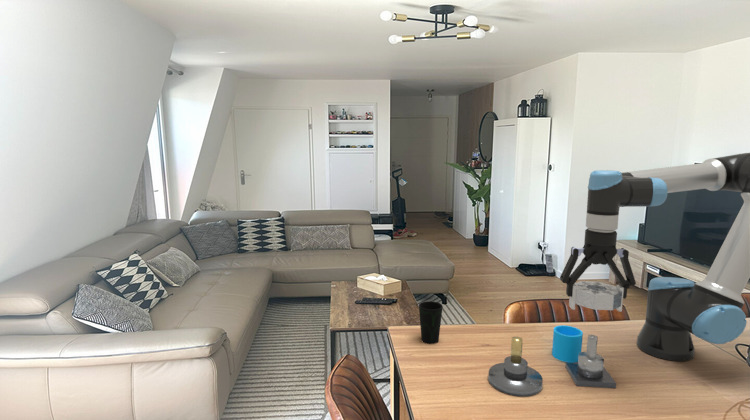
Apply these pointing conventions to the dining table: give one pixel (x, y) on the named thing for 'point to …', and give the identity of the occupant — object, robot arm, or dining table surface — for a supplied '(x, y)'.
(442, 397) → the dining table surface
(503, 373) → the hub
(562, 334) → the mug
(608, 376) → the stand
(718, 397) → the dining table surface
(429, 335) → the cup
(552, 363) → the dining table surface
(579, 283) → the faceted steel ring
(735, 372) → the dining table surface
